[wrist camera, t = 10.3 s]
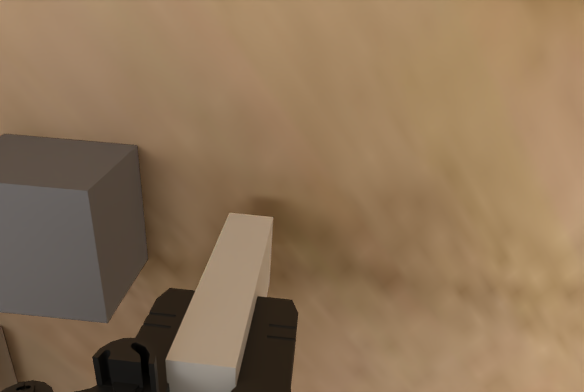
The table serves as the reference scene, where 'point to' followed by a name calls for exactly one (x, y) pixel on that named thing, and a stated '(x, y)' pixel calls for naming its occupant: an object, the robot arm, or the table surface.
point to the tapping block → (69, 226)
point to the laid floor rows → (5, 365)
